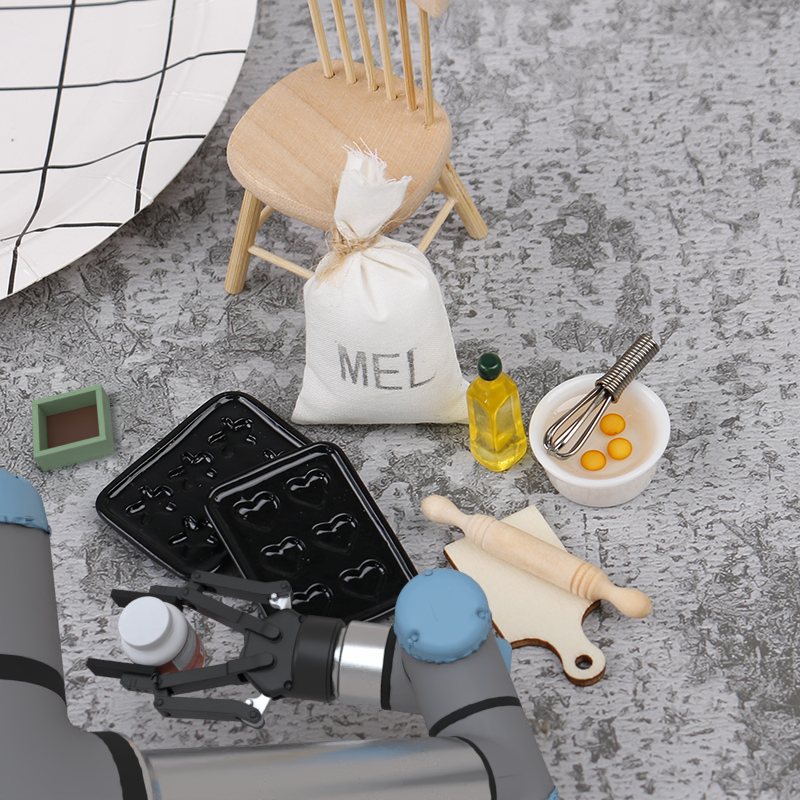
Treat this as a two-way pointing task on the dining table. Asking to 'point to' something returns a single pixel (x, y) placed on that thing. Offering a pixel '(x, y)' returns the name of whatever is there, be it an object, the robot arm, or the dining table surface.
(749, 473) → the dining table surface
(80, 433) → the holder
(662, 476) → the dining table surface
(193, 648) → the pill bottle
